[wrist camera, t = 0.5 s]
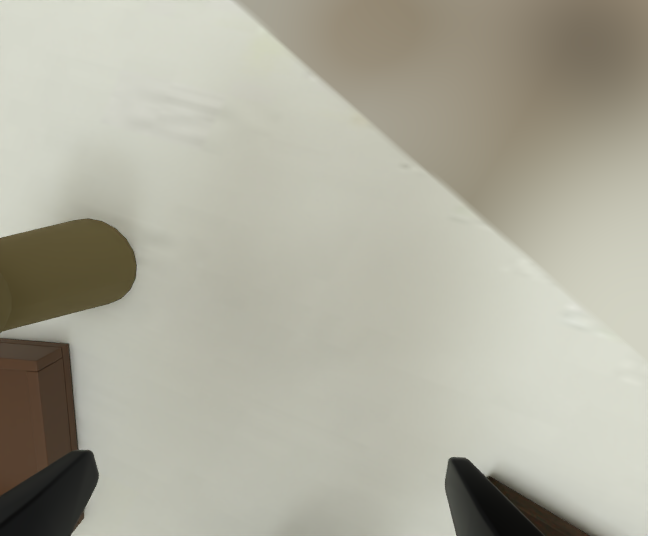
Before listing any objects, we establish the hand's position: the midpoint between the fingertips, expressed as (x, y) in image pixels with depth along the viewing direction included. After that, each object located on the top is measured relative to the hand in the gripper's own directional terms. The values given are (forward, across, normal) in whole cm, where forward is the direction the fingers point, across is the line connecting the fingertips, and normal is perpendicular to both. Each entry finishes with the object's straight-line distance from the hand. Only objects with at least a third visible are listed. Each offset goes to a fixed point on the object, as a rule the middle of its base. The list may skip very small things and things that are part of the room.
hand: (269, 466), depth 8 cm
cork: (+15, +15, -1) cm, 21 cm away
